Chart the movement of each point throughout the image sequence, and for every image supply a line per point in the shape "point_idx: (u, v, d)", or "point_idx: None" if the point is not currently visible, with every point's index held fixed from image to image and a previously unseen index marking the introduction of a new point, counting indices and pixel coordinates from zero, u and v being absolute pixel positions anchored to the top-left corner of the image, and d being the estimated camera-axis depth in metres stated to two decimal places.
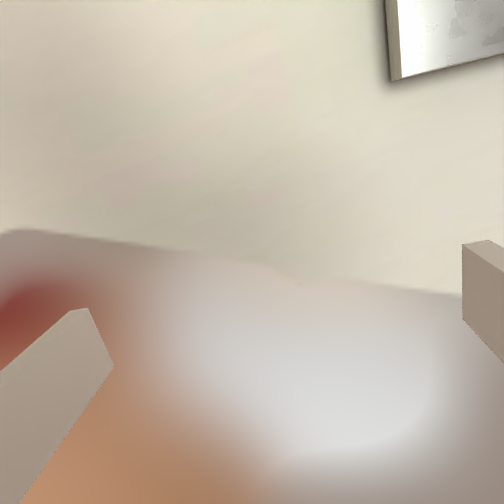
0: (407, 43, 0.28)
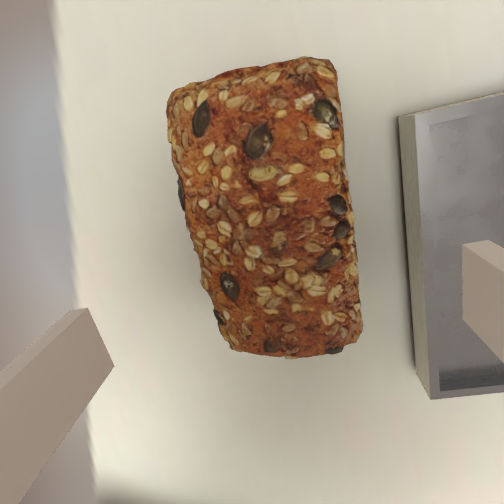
0: None
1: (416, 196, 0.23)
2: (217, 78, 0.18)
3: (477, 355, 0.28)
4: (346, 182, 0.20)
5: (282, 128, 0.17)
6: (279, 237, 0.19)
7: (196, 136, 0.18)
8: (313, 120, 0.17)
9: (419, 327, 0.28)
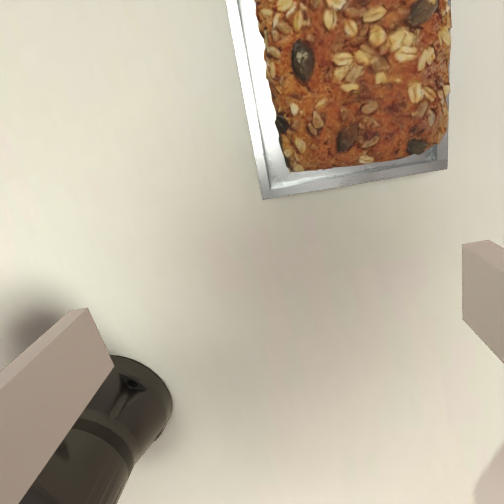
0: (414, 167, 0.27)
1: None
2: None
3: None
4: None
5: None
6: None
7: None
8: None
9: None
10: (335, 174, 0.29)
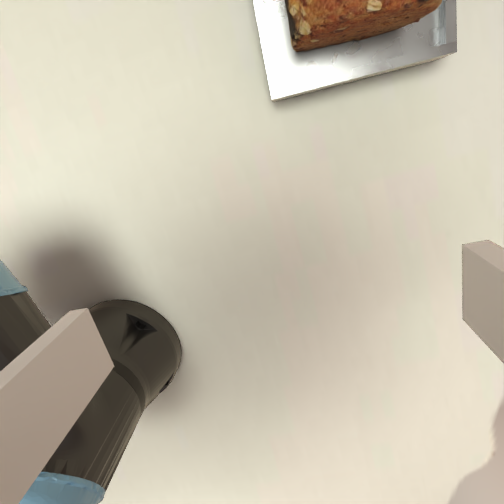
0: (424, 52, 0.27)
1: None
2: None
3: (313, 49, 0.29)
4: None
5: None
6: None
7: None
8: None
9: None
10: (343, 70, 0.29)
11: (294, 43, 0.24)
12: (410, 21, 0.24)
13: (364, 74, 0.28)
